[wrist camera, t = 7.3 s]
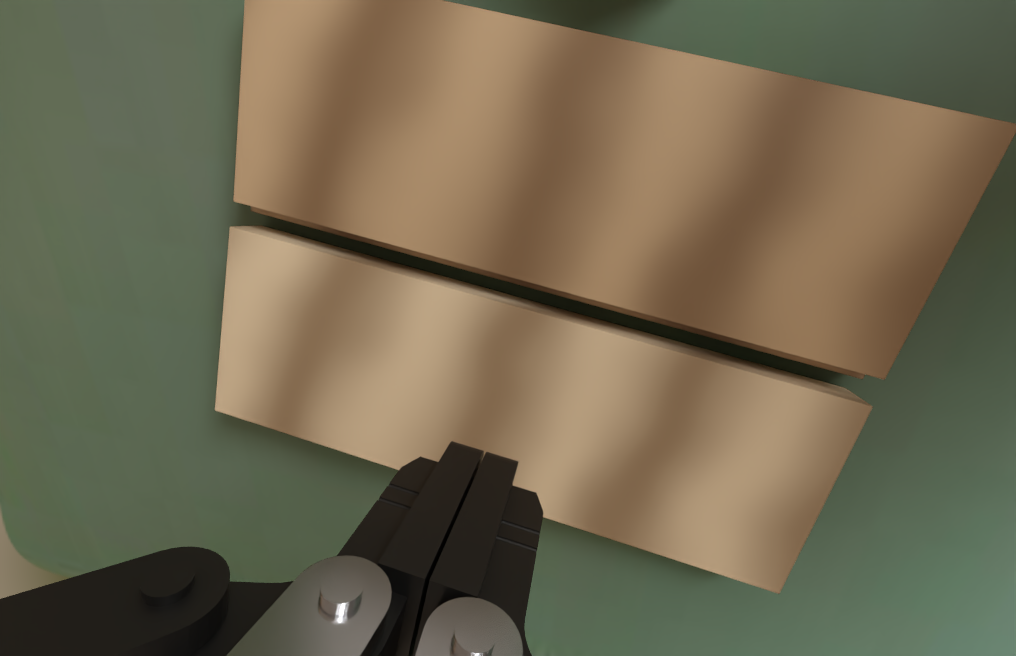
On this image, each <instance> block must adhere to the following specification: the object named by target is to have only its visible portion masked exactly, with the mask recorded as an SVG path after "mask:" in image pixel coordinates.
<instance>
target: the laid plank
mask: <svg viewBox="0 0 1016 656" xmlns="http://www.w3.org/2000/svg"><path fill="white" fill-rule="evenodd" d="M1015 133H1016V124H1014V123H1010V122H1005V121H1000V120H996V119H991V118H986V117H982V116H977V115H972V114H968V113H963V112H958V111H954V110H949V109H945V108H940V107H935V106H931V105H926V104H921V103H917V102H912V101H907V100H903V99H898V98H893V97H889V96H884V95H880V94H875V93H870V92H866V91H861V90H856V89H852V88H847V87H842V86H838V85H833V84H828V83H824V82H819V81H815V80H810V79H805V78H801V77H796V76H791V75H787V74H782V73H777V72H773V71H768V70H763V69H759V68H754V67H749V66H745V65H740V64H736V63H731V62H726V61H722V60H717V59H712V58H708V57H703V56H698V55H694V54H689V53H684V52H680V51H675V50H671V49H666V48H661V47H657V46H652V45H647V44H643V43H638V42H633V41H629V40H624V39H619V38H615V37H610V36H606V35H601V34H596V33H592V32H587V31H582V30H578V29H573V28H568V27H564V26H559V25H554V24H550V23H545V22H540V21H536V20H531V19H527V18H522V17H517V16H513V15H508V14H503V13H499V12H494V11H489V10H485V9H480V8H475V7H471V6H466V5H462V4H457V3H452V2H448V1H443V0H245V7H244V25H243V43H242V60H241V78H240V96H239V114H238V132H237V149H236V167H235V185H234V202H238V203H242V204H245V205H249V206H251V211H253V212H256V213H260V214H264V215H267V216H271V217H275V218H278V219H282V220H285V221H289V222H293V223H296V224H300V225H304V226H307V227H311V228H315V229H318V230H322V231H325V232H329V233H333V234H336V235H340V236H344V237H347V238H351V239H355V240H358V241H362V242H365V243H369V244H373V245H376V246H380V247H384V248H387V249H391V250H395V251H398V252H402V253H405V254H409V255H413V256H416V257H420V258H424V259H427V260H431V261H434V262H438V263H442V264H445V265H449V266H453V267H456V268H460V269H464V270H467V271H471V272H474V273H478V274H482V275H485V276H489V277H493V278H496V279H500V280H504V281H507V282H511V283H514V284H518V285H522V286H525V287H529V288H533V289H536V290H540V291H544V292H547V293H551V294H554V295H558V296H562V297H565V298H569V299H573V300H576V301H580V302H584V303H587V304H591V305H594V306H598V307H602V308H605V309H609V310H613V311H616V312H620V313H623V314H627V315H631V316H634V317H638V318H642V319H645V320H649V321H653V322H656V323H660V324H663V325H667V326H671V327H674V328H678V329H682V330H685V331H689V332H693V333H696V334H700V335H703V336H707V337H711V338H714V339H718V340H722V341H725V342H729V343H733V344H736V345H740V346H743V347H747V348H751V349H754V350H758V351H762V352H765V353H769V354H772V355H776V356H780V357H783V358H787V359H791V360H794V361H798V362H802V363H805V364H809V365H812V366H816V367H820V368H823V369H827V370H831V371H834V372H838V373H842V374H845V375H849V376H852V377H856V378H860V379H863V378H864V376H865V374H866V375H869V376H873V377H877V378H880V379H884V380H885V378H886V376H887V374H888V372H889V370H890V368H891V367H892V365H893V363H894V361H895V359H896V357H897V355H898V353H899V352H900V350H901V348H902V346H903V344H904V342H905V340H906V338H907V336H908V335H909V333H910V331H911V329H912V327H913V325H914V323H915V321H916V320H917V318H918V316H919V314H920V312H921V310H922V308H923V306H924V304H925V303H926V301H927V299H928V297H929V295H930V293H931V291H932V289H933V287H934V286H935V284H936V282H937V280H938V278H939V276H940V274H941V272H942V271H943V269H944V267H945V265H946V263H947V261H948V259H949V257H950V255H951V254H952V252H953V250H954V248H955V246H956V244H957V242H958V240H959V239H960V237H961V235H962V233H963V231H964V229H965V227H966V225H967V223H968V222H969V220H970V218H971V216H972V214H973V212H974V210H975V208H976V206H977V205H978V203H979V201H980V199H981V197H982V195H983V193H984V191H985V190H986V188H987V186H988V184H989V182H990V180H991V178H992V176H993V174H994V173H995V171H996V169H997V167H998V165H999V163H1000V161H1001V159H1002V158H1003V156H1004V154H1005V152H1006V150H1007V148H1008V146H1009V144H1010V142H1011V141H1012V139H1013V137H1014V135H1015Z"/></svg>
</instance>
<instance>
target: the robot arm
mask: <svg viewBox="0 0 1016 656" xmlns="http://www.w3.org/2000/svg"><path fill="white" fill-rule="evenodd" d="M483 456H484V457H483ZM518 463H519V461H516V460H513V459H509V458H506V457H503V456H500V455H496V454H493V453H490V452H486V453H485V455H484V451H483V450H480V449H476V448H473V447H470V446H467V445H463V444H460V443H457V442H454V441H451V442H450V444H449V445H448V447H447V449H446V450H445V452H444V454H443V455H442V457H441V459H440V460H439V462H436V461H433V460H430V459H427V458H424V457H421V456H420V457H419V458H417V459H415V460H413V461H411V462H410V463H408V464H406V465H404V466H402V467H401V468H400V470H399V471H398V472H397V474H396V475H395V477H394V478H393V479H392V481H391V482H390V484H389V486H387V488H386V489H385V490H384V492H383V493H382V494H381V496H380V498H379V500H377V501H376V503H375V504H374V505H373V507H372V508H371V510H370V511H369V512H368V514H367V515H366V517H365V518H364V519H363V521H362V522H361V523H360V525H359V526H358V528H357V529H356V530H355V532H354V533H353V534H352V536H351V537H350V539H349V540H348V541H347V543H346V544H345V545H344V547H343V548H342V550H341V551H340V552H339V554H338V555H337V556H335V557H330V558H327V559H324V560H321V561H319V562H317V563H315V564H313V565H311V566H310V567H308V568H307V569H306V570H304V571H303V572H302V573H301V574H300V575H299V576H298V577H297V578H296V579H295V580H294V581H291V582H284V583H254V582H230V571H229V567H228V565H227V563H226V561H225V560H224V559H223V558H222V557H221V556H220V555H219V554H217V553H216V552H213V551H211V550H209V549H204V548H200V547H178V548H171V549H167V550H163V551H159V552H156V553H153V554H149V555H146V556H143V557H139V558H136V559H133V560H129V561H126V562H122V563H119V564H116V565H112V566H109V567H106V568H102V569H99V570H96V571H92V572H89V573H86V574H82V575H79V576H76V577H72V578H69V579H66V580H62V581H59V582H56V583H53V584H49V585H46V586H42V587H39V588H36V589H32V590H29V591H25V592H22V593H19V594H16V595H12V596H9V597H6V598H2V599H0V656H532V655H531V653H530V651H529V648H528V645H527V642H526V638H525V630H524V623H525V615H526V610H527V604H528V598H529V593H530V587H531V581H532V575H533V570H534V564H535V558H536V551H537V547H538V541H539V534H540V530H541V524H542V518H543V509H542V507H541V504H540V501H539V498H538V496H537V493H536V492H532V491H529V490H526V489H523V488H520V487H516V486H513V481H514V478H515V474H516V470H517V467H518Z"/></svg>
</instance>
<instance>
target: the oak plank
mask: <svg viewBox="0 0 1016 656" xmlns="http://www.w3.org/2000/svg"><path fill="white" fill-rule="evenodd" d="M872 408H873V406H871V405H870V404H868V403H867V402H865V401H864V400H862V399H861V398H859V397H858V396H856V395H855V394H853V393H852V392H851V391H849V390H848V389H846V388H844V387H840V386H837V385H833V384H830V383H826V382H822V381H819V380H815V379H812V378H808V377H805V376H801V375H797V374H794V373H790V372H787V371H783V370H779V369H776V368H772V367H769V366H765V365H761V364H758V363H754V362H751V361H747V360H743V359H740V358H736V357H733V356H729V355H725V354H722V353H718V352H715V351H711V350H707V349H704V348H700V347H697V346H693V345H689V344H686V343H682V342H679V341H675V340H671V339H668V338H664V337H661V336H657V335H653V334H650V333H646V332H643V331H639V330H635V329H632V328H628V327H625V326H621V325H617V324H614V323H610V322H607V321H603V320H599V319H596V318H592V317H589V316H585V315H581V314H578V313H574V312H571V311H567V310H563V309H560V308H556V307H553V306H549V305H545V304H542V303H538V302H535V301H531V300H527V299H524V298H520V297H517V296H513V295H509V294H506V293H502V292H499V291H495V290H491V289H488V288H484V287H481V286H477V285H473V284H470V283H466V282H463V281H459V280H455V279H452V278H448V277H445V276H441V275H437V274H434V273H430V272H427V271H423V270H419V269H416V268H412V267H409V266H405V265H402V264H398V263H394V262H391V261H387V260H384V259H380V258H376V257H373V256H369V255H366V254H362V253H358V252H355V251H351V250H348V249H344V248H340V247H337V246H333V245H330V244H326V243H322V242H319V241H315V240H312V239H308V238H304V237H301V236H297V235H294V234H290V233H286V232H283V231H279V230H276V229H272V228H268V227H265V226H231V227H230V232H229V244H228V257H227V269H226V281H225V293H224V305H223V318H222V330H221V342H220V354H219V367H218V379H217V391H216V403H215V410H216V411H219V412H222V413H225V414H228V415H231V416H234V417H237V418H240V419H243V420H246V421H249V422H252V423H256V424H259V425H262V426H265V427H268V428H271V429H274V430H277V431H280V432H283V433H286V434H289V435H292V436H296V437H299V438H302V439H305V440H308V441H311V442H314V443H317V444H320V445H323V446H326V447H329V448H332V449H336V450H339V451H342V452H345V453H348V454H351V455H354V456H357V457H360V458H363V459H366V460H369V461H372V462H375V463H379V464H382V465H385V466H388V467H391V468H394V469H397V470H400V468H401V467H402V466H404V465H406V464H408V463H410V462H411V461H413V460H415V459H417V458H419V457H420V456H421V457H424V458H427V459H430V460H433V461H436V462H439V460H440V459H441V457H442V455H443V454H444V452H445V450H446V449H447V447H448V445H449V444H450V442H451V441H454V442H457V443H460V444H463V445H467V446H470V447H473V448H476V449H480V450H483V451H484V455H485V453H486V452H490V453H493V454H496V455H500V456H503V457H506V458H509V459H513V460H516V461H519V463H518V467H517V470H516V474H515V478H514V481H513V486H516V487H520V488H523V489H526V490H529V491H532V492H536V493H537V496H538V498H539V501H540V504H541V507H542V509H543V517H545V518H548V519H551V520H554V521H557V522H560V523H563V524H566V525H569V526H572V527H575V528H578V529H581V530H585V531H588V532H591V533H594V534H597V535H600V536H603V537H606V538H609V539H612V540H615V541H618V542H621V543H624V544H628V545H631V546H634V547H637V548H640V549H643V550H646V551H649V552H652V553H655V554H658V555H661V556H664V557H668V558H671V559H674V560H677V561H680V562H683V563H686V564H689V565H692V566H695V567H698V568H701V569H704V570H707V571H711V572H714V573H717V574H720V575H723V576H726V577H729V578H732V579H735V580H738V581H741V582H744V583H747V584H751V585H754V586H757V587H760V588H763V589H766V590H769V591H772V592H775V593H778V594H779V593H780V591H781V589H782V587H783V585H784V583H785V581H786V579H787V577H788V575H789V573H790V571H791V569H792V567H793V565H794V563H795V561H796V559H797V557H798V555H799V553H800V551H801V549H802V547H803V545H804V543H805V541H806V539H807V537H808V535H809V533H810V531H811V529H812V527H813V525H814V523H815V521H816V519H817V517H818V515H819V513H820V511H821V509H822V507H823V505H824V503H825V501H826V499H827V497H828V495H829V493H830V491H831V489H832V487H833V485H834V483H835V481H836V479H837V477H838V475H839V473H840V471H841V469H842V467H843V465H844V464H845V462H846V460H847V458H848V456H849V454H850V452H851V450H852V448H853V446H854V444H855V442H856V440H857V438H858V436H859V434H860V432H861V430H862V428H863V426H864V424H865V422H866V420H867V418H868V416H869V414H870V412H871V410H872ZM483 457H484V456H483Z"/></svg>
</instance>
